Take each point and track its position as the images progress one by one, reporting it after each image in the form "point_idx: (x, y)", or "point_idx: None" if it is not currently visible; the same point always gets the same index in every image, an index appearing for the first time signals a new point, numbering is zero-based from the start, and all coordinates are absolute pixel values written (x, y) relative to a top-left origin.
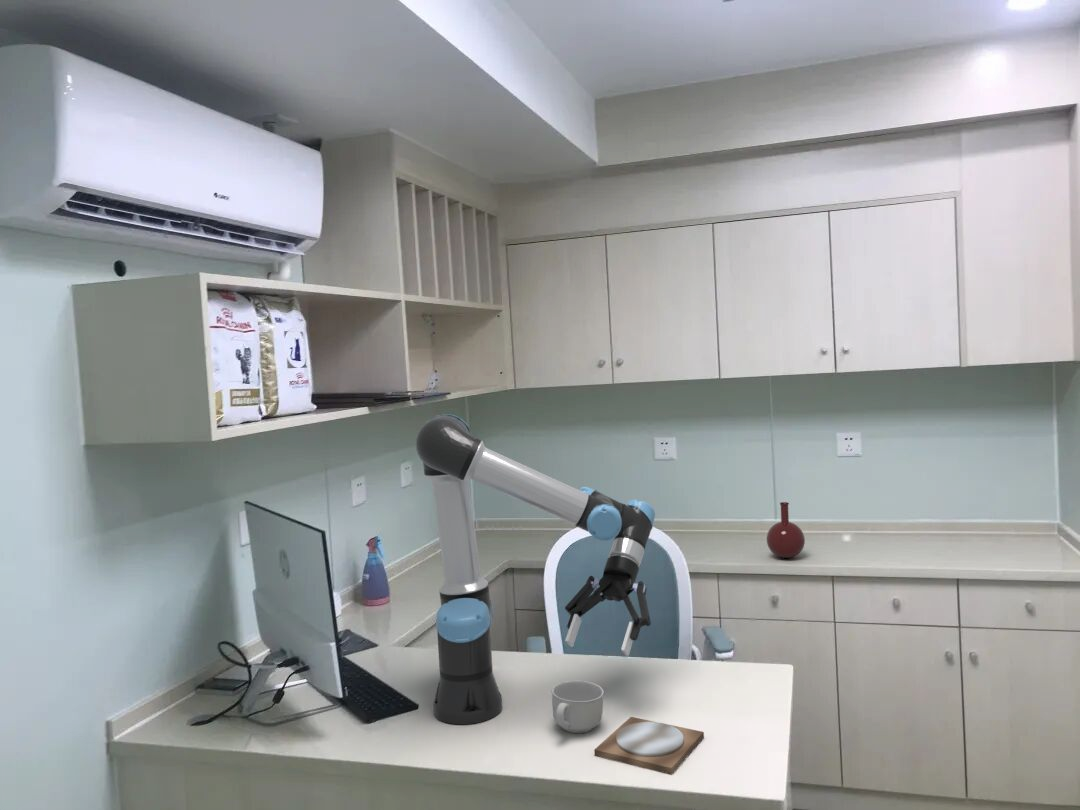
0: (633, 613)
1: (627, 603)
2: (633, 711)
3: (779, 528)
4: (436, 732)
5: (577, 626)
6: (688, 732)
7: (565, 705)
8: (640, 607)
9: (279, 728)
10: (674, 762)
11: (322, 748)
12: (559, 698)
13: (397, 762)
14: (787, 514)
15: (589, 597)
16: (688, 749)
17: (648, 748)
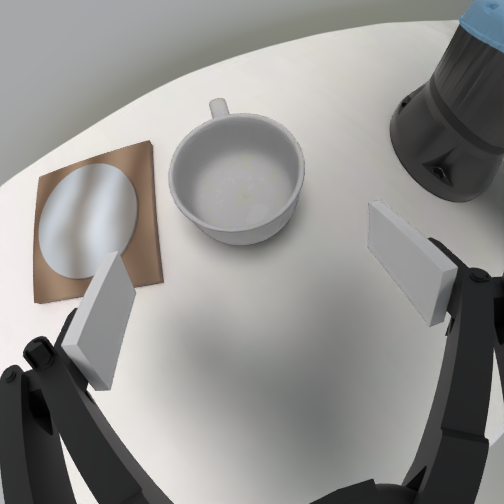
0: (55, 392)
1: (97, 457)
2: (190, 330)
3: None
4: (402, 81)
5: (410, 280)
6: (49, 285)
7: (211, 107)
8: (19, 431)
9: None
10: (39, 190)
11: (433, 29)
12: (240, 113)
13: (358, 27)
14: None
15: (481, 386)
16: (34, 236)
17: (70, 184)
